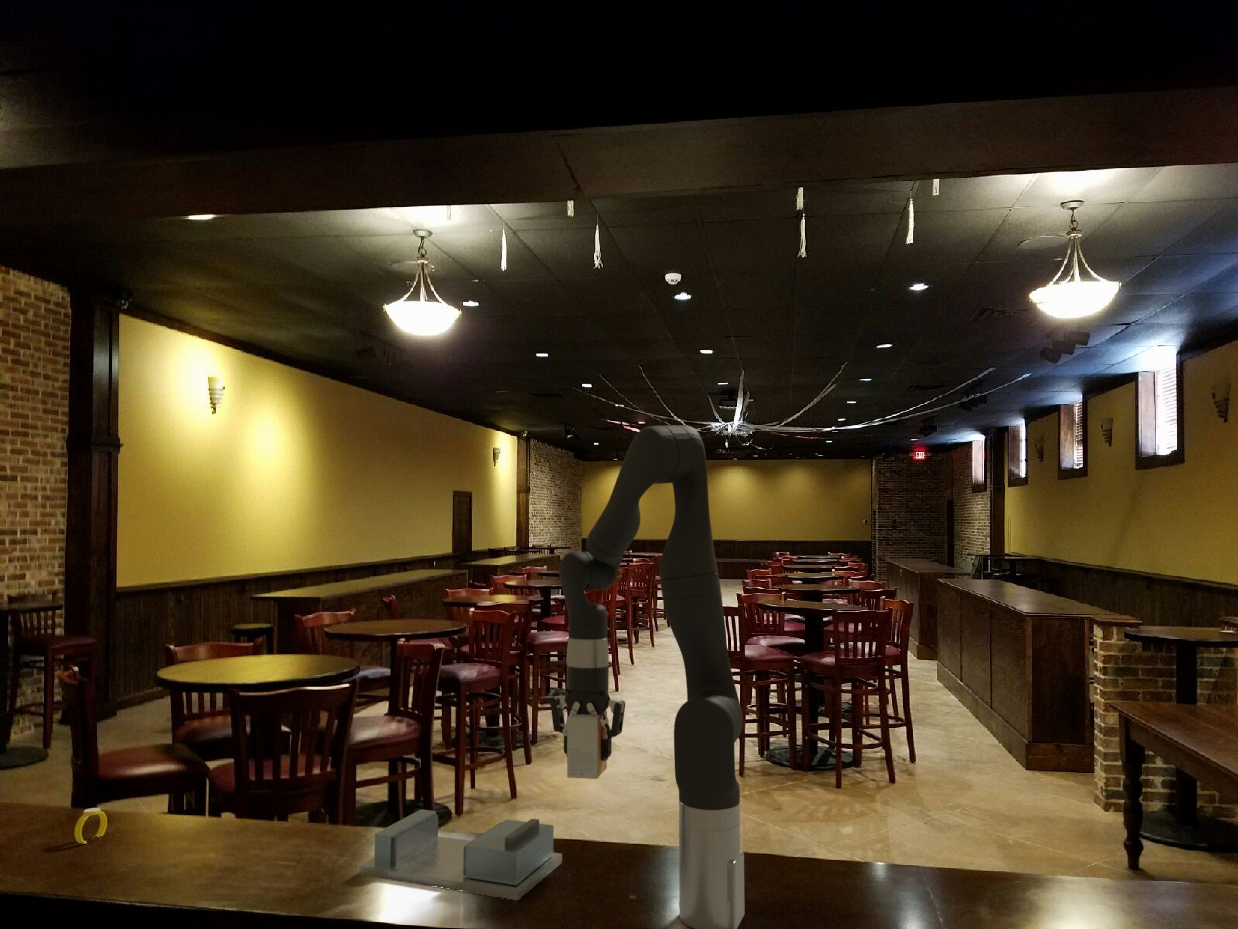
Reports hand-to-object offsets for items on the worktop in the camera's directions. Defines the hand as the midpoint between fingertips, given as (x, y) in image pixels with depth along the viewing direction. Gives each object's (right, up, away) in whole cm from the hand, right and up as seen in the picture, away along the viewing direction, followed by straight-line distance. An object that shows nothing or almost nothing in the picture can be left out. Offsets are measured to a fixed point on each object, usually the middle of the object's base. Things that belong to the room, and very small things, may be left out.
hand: (587, 757), depth 156 cm
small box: (0, -3, 0) cm, 3 cm away
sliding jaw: (-13, -15, -8) cm, 22 cm away
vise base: (-20, -17, -6) cm, 27 cm away
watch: (-93, -18, +8) cm, 96 cm away
